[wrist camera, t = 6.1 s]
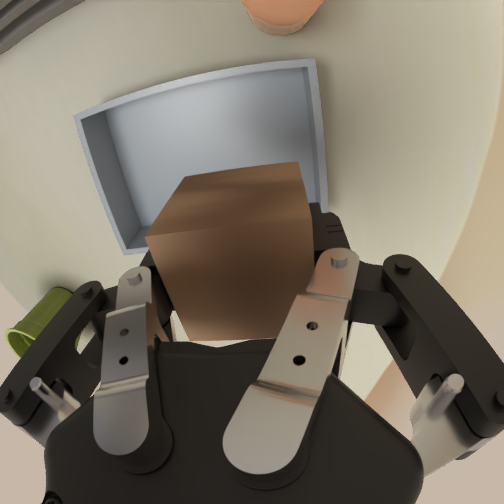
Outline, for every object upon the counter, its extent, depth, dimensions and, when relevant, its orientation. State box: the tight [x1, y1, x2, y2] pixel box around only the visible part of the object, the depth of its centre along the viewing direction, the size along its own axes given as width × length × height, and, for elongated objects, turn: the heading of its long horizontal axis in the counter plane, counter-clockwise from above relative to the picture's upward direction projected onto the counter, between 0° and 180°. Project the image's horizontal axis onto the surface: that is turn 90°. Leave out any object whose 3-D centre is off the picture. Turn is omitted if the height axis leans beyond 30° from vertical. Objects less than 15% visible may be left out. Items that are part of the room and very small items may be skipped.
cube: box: [145, 161, 315, 341], centre depth 12 cm, size 5×5×5 cm
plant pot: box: [5, 288, 81, 359], centre depth 35 cm, size 12×12×11 cm
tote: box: [73, 58, 329, 255], centre depth 24 cm, size 19×14×5 cm
